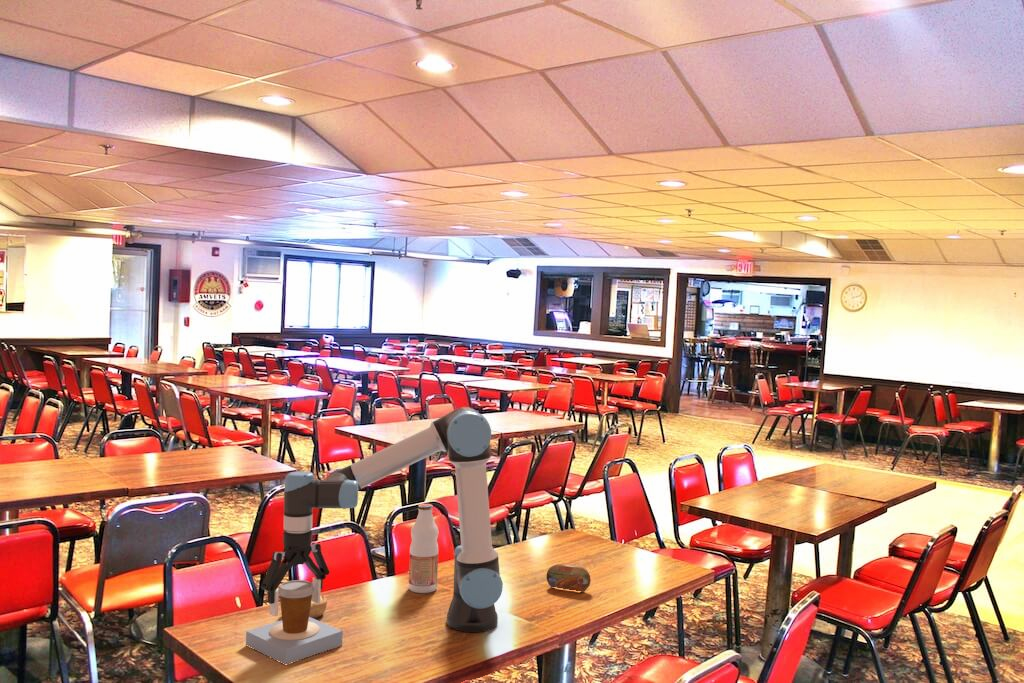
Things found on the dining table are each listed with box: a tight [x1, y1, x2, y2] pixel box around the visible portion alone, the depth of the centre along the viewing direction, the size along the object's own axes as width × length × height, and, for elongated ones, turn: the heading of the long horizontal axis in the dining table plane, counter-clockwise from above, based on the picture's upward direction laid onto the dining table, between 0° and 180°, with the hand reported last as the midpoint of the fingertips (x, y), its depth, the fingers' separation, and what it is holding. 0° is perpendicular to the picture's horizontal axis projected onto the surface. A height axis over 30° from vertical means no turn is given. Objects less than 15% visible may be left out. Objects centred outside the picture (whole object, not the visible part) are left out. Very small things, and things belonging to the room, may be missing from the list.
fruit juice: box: [408, 503, 439, 594], centre depth 266 cm, size 9×9×28 cm
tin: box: [546, 563, 592, 593], centre depth 270 cm, size 15×3×8 cm, turn 68°
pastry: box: [309, 594, 328, 619], centre depth 240 cm, size 12×12×9 cm
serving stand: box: [245, 617, 344, 665], centre depth 216 cm, size 18×18×4 cm
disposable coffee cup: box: [277, 579, 315, 634], centre depth 216 cm, size 10×10×12 cm
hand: (295, 608), depth 216 cm, fingers open, 13 cm apart
